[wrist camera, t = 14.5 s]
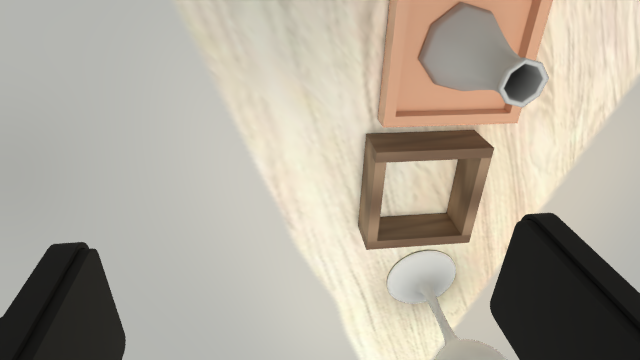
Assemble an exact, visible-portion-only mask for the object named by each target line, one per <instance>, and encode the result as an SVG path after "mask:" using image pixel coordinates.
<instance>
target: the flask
mask: <svg viewBox="0 0 640 360" xmlns="http://www.w3.org/2000/svg"><path fill="white" fill-rule="evenodd" d="M418 60H419V61H420V63H421V64H422V66H423V67H424V69H425V71H426V72H427V74H428V75H429V77H430V79H431V80H432V82H433V83H434V84H436V85H439V86H443V87H447V88H451V89H455V90H459V91H473V90H495V91H496V92H498V93H499V94H500V95H501V97H502V99H503V101H504V102H505V103H506V104H510V105H514V106H518V107H524V106H525V105H527V104H528V103H530V102H531V101H533V100H534V99H536V98H537V97H538V96H539V95H540V94H541V92H542V90H543V88H544V86H545V84H546V83H547V81H548V79H549V77H548V75H547V73H546V70H545V68H544V66H543V64H542V63H541V62H538V61H535V60H531V59H528V58H524V57H522V58H521V57H520V56H519V55H517V54H516V53H515V52H514V51H513V50H512V49H511V47H510V45H509V44H508V42H507V40H506V38H505V37H504V35H503V33H502V31H501V29H500V27H499V25H498V23H497V21H496V19H495V17H494V15H493V13H492V11H489V10H486V9H483V8H480V7H476V6H473V5H470V4H467V3H464V2H460V3H459V4H458V5H456V6H455V7H454V8H453V9H451V10H450V11H449V12H447V13H446V14H445V15H444V16H442V17H441V18H440V19H438V20H437V21H436V22H435V23H433V24H432V25H431V27H430V30H429V32H428V35H427V38H426V40H425V43H424V45H423V48H422V51H421V53H420V56H419V58H418Z"/></svg>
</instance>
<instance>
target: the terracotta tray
mask: <svg viewBox="0 0 640 360" xmlns="http://www.w3.org/2000/svg"><path fill="white" fill-rule="evenodd" d="M552 1H553V0H390V4H389V14H388V23H387V33H386V43H385V53H384V63H383V73H382V83H381V93H380V102H379V112H378V120H379V122H380V123H381V125H382V126H383V127H414V126H444V125H475V124H505V123H518V119H519V116H520V112H521V109H522V107H518V106H514V105H510V104H506V103H505V102H504V101H503V99H502V97H501V95H500V94H499V93H498V92H496V91H495V90H473V91H459V90H455V89H451V88H447V87H443V86H439V85H436V84H434V83H433V82H432V80H431V79H430V77H429V75H428V74H427V72H426V71H425V69H424V67H423V66H422V64H421V63H420V61H419V60H418V58H419V56H420V53H421V51H422V48H423V45H424V43H425V40H426V38H427V35H428V32H429V30H430V27H431V25H432V24H433V23H435V22H436V21H437V20H438V19H440V18H441V17H442V16H444V15H445V14H446V13H447V12H449V11H450V10H451V9H453V8H454V7H455V6H456V5H458V4H459V3H460V2H464V3H467V4H470V5H473V6H476V7H480V8H483V9H486V10H489V11H492V13H493V15H494V17H495V19H496V21H497V23H498V25H499V27H500V29H501V31H502V33H503V35H504V37H505V38H506V40H507V42H508V44H509V45H510V47H511V49H512V50H513V51H514V52H515V53H516V54H517V55H519V56H520V57H521V58H522V57H524V58H528V59H531V60H536V57H537V53H538V50H539V46H540V43H541V39H542V36H543V32H544V29H545V25H546V22H547V19H548V15H549V12H550V8H551V5H552Z"/></svg>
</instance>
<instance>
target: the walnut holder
mask: <svg viewBox="0 0 640 360" xmlns="http://www.w3.org/2000/svg"><path fill="white" fill-rule="evenodd" d="M493 150H494V147H492V146H491V145H490V144H489V143H488V142H487V141H486V140H485V139H484V138H482V137H481V136H480V135H479V134H478V133H477V132H476V131H475V130H466V131H437V132H408V133H379V134H366V142H365V153H364V165H363V176H362V188H361V199H360V210H359V222H358V227H359V230H360V233H361V235H362V238H363V241H364V244H365V247H366V250H369V249H383V248H397V247H411V246H426V245H440V244H454V243H468V242H469V241H470V237H471V233H472V229H473V226H474V222H475V218H476V214H477V211H478V207H479V203H480V199H481V196H482V192H483V188H484V184H485V180H486V177H487V173H488V169H489V165H490V162H491V158H492V154H493ZM452 159H458V164H457V168H456V173H455V177H454V182H453V186H452V191H451V195H450V200H449V204H448V209H447V213H440V214H424V215H408V216H391V217H380V212H381V204H382V195H383V187H384V179H385V170H386V162H406V161H429V160H452Z"/></svg>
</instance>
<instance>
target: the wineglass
mask: <svg viewBox="0 0 640 360" xmlns="http://www.w3.org/2000/svg"><path fill="white" fill-rule="evenodd" d="M455 274H456V267H455V263H454V262H453V260H452V259H451V258H450V257H449V256H448V255H446V254H444V253H442V252H438V251H421V252H417V253H414V254H411V255H409V256H407V257H405V258H404V259H402V260H401V261H399V262H398V263H397V264H396V265H395V266H394V267H393V269H392V270H391V272H390V274H389V276H388V279H387V288H388V291H389V293H390V294H391V296H392V297H394V298H395V299H396V300H398V301H401V302H404V303H410V304H416V303H423V302H428V304H429V305H430V307H431V309H432V311H433V313H434V315H435V317H436V319H437V321H438V323H439V326H440V328H441V331H442V333H443V336H444V340H445V346H444V347H443V348H442V349H441V350H440V351H439V352H438V354H437V355H436V357H435V359H434V360H507V359H506V358H505V357H504V356H503V355H502V354H501V353H500V352H498V351H497V350H496V349H494V348H493V347H491V346H489V345H487V344H485V343H482V342H479V341H475V340H469V339H461V340H460V339H458V337H457V336H456V335H455V334H454V332H453V331H452V329H451V327H450V326H449V324H448V322H447V320H446V318H445V316H444V314H443V312H442V310H441V308H440V305H439V303H438V301H437V298H436V297H438V296H440V295H441V294H442V293H444V292H445V291H446V290H447V289H448V288H449V287H450V285H451V284H452V282H453V280H454V278H455Z"/></svg>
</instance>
